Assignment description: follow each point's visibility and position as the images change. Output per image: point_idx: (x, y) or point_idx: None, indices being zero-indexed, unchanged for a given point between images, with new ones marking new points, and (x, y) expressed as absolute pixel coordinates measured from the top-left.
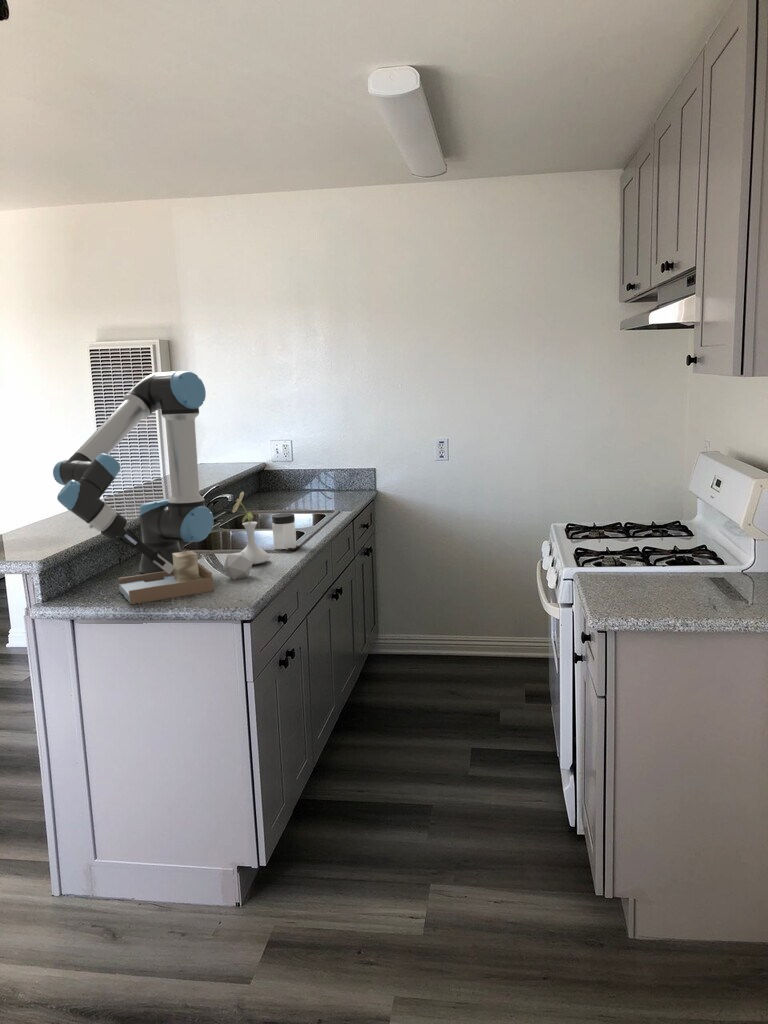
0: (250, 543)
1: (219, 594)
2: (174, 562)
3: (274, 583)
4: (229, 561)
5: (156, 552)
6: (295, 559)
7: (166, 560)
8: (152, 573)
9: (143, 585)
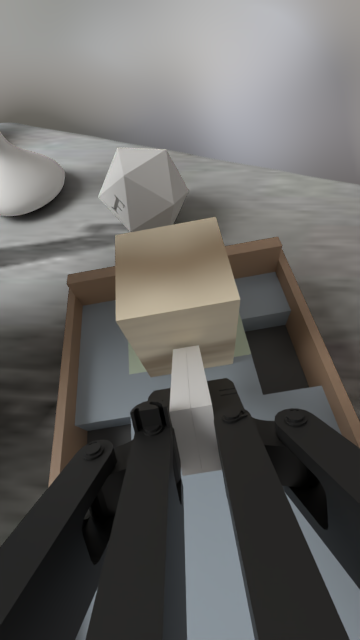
0: (2, 143)
1: (326, 268)
2: (162, 338)
3: (256, 168)
4: (158, 189)
5: (165, 415)
6: (67, 140)
7: (203, 369)
8: (59, 472)
9: (198, 543)
